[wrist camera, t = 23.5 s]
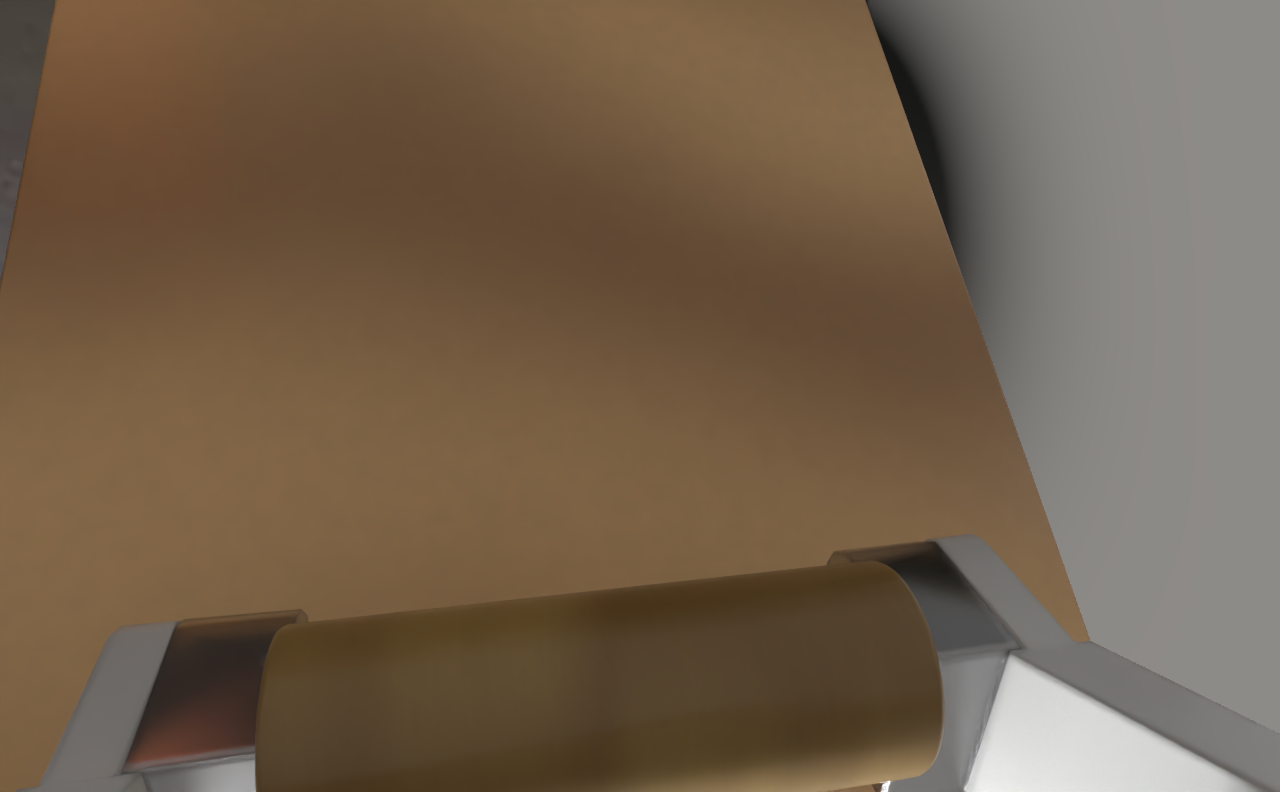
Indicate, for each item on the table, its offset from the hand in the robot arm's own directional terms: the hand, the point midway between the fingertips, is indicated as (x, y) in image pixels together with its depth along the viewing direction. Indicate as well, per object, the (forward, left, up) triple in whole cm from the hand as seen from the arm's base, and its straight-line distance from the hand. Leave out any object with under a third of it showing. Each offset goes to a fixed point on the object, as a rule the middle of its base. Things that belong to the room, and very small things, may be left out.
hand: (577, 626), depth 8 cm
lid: (0, -1, -6) cm, 6 cm away
